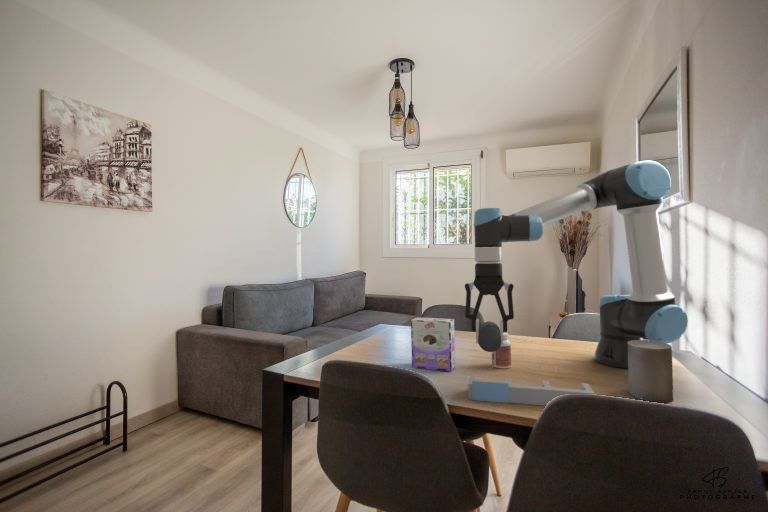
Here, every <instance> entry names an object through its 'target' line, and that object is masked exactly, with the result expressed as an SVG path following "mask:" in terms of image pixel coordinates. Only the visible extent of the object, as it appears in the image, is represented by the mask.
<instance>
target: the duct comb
mask: <svg viewBox="0 0 768 512" xmlns="http://www.w3.org/2000/svg"><path fill="white" fill-rule="evenodd" d="M504 380H505V381H504V382H498V381H497V382H496V381H485V380H476V375H469V379H468V400H472V401H478V402H479V401H482V402H492V403H493V402H494V403H503V404H509V403H511V404H519V405H520V404H523V405H531V406H533V405H534V406H545V405H546V404H547V403H548V402H549V401H551V400H552V399H553V398H555V397H557V396H560V395H565V394H595V393H596V392H595V391H594V390H593V389H592V388H591V387H592V386H590V384H589V383H585V382H582V383H581V389H577V388H565V387H563V388H562V387H552V386H551V384H550V381H549V380H542V386H539V385H538V386H537V385H536V386H534V385H522V384H513V383H512V378H511V377H505V379H504ZM595 395H596V394H595Z"/></svg>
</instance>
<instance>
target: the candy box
mask: <svg viewBox="0 0 768 512" xmlns="http://www.w3.org/2000/svg"><path fill="white" fill-rule="evenodd" d="M410 334H411V335H410V336H411V338H410V340H411V365H412V366H411V368H413V369H414V368H415V369H422V370H424V369H425V370H431V371H432V370H433V371H443V372H452V371H453V370H454V369H455V368H456V341H455V339H456V338H455V337H456V336H455V335H456V333H455V319H454V318H438V317H421V316H418V317H414V318H412V319H411V320H410Z"/></svg>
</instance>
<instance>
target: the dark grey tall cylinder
mask: <svg viewBox="0 0 768 512" xmlns="http://www.w3.org/2000/svg"><path fill="white" fill-rule="evenodd" d="M478 343H479V344H478ZM478 343H477V344H478V346H479V347H480V348H481V350H482V351H485V352H487V353H492V352H494V351H496V350H498V349H499V348H500V346H501V334H500V326H499V325H498V324H497V323H496V322H493V321H484V322H482V323H481V325H479V335H478Z"/></svg>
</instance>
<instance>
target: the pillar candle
mask: <svg viewBox="0 0 768 512" xmlns="http://www.w3.org/2000/svg"><path fill="white" fill-rule="evenodd" d="M672 347H673V346H672V345H671V344H670V343H663V342H658V341H650V339H649V340H647V339H640V340H634V341H633V340H632V341H629V342H628V368H627V370H628V375H627V376H628V393H629V394H630V395H632V397H634V396H635V397H634V398H636V397H637V398H636V399H639V400H642V401H646V400H647V401H646V402H651V401H655V403H669V402H673V401H674V382H673V381H674V379H673V371H674V370H673V348H672ZM640 398H642V399H640Z"/></svg>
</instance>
